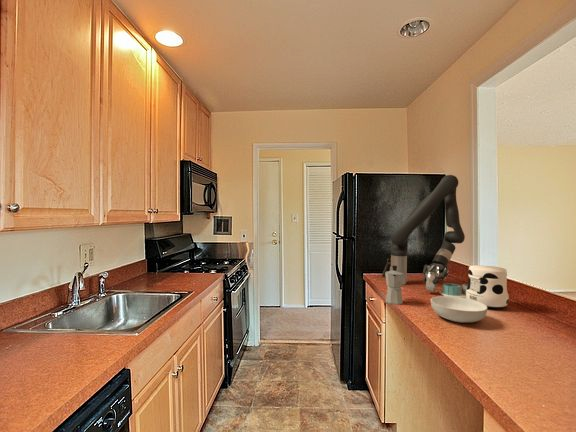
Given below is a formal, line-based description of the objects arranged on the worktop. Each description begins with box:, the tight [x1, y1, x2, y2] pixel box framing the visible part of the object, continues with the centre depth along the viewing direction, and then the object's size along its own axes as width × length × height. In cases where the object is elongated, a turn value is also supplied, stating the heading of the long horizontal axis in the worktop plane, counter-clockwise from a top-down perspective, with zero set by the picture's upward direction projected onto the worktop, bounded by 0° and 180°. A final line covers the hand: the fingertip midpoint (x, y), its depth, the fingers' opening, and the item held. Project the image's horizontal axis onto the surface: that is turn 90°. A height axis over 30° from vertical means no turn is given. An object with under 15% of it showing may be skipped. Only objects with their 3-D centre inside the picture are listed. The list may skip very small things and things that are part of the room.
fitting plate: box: [438, 282, 468, 299], centre depth 168 cm, size 17×11×6 cm, turn 89°
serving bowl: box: [430, 295, 489, 324], centre depth 132 cm, size 21×21×7 cm
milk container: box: [466, 264, 510, 309], centre depth 152 cm, size 17×17×18 cm
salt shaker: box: [425, 270, 437, 292], centre depth 172 cm, size 5×5×10 cm
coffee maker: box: [385, 265, 404, 306], centre depth 157 cm, size 15×9×18 cm, turn 161°
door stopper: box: [381, 258, 391, 278], centre depth 216 cm, size 9×6×12 cm, turn 72°
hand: (429, 282), depth 171 cm, fingers closed on salt shaker, 5 cm apart
